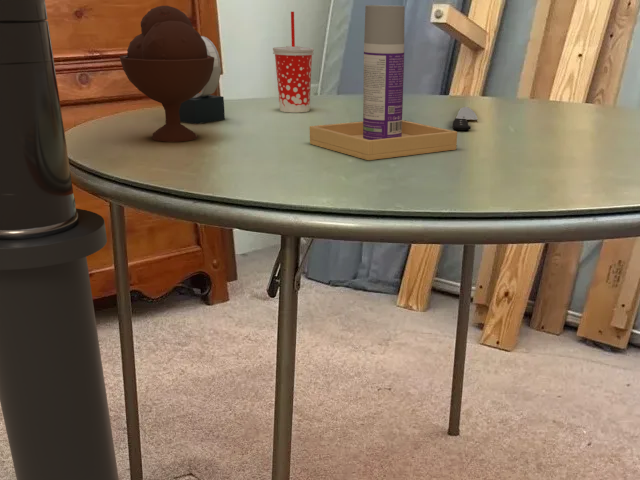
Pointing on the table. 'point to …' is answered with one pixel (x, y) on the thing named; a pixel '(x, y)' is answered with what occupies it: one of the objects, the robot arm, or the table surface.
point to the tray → (383, 140)
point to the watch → (205, 96)
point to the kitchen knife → (464, 118)
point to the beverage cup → (293, 75)
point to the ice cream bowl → (168, 66)
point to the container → (383, 71)
